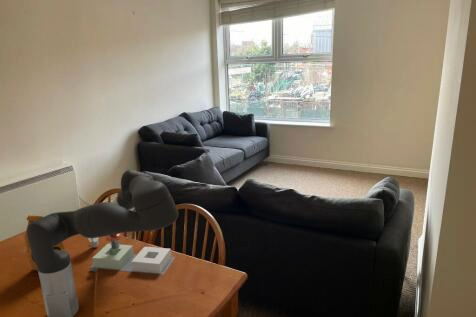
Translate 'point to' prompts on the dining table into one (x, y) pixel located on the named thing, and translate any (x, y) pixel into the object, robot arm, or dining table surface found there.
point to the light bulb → (94, 242)
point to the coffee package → (32, 262)
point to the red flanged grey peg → (114, 240)
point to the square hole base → (133, 259)
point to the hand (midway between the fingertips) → (110, 228)
